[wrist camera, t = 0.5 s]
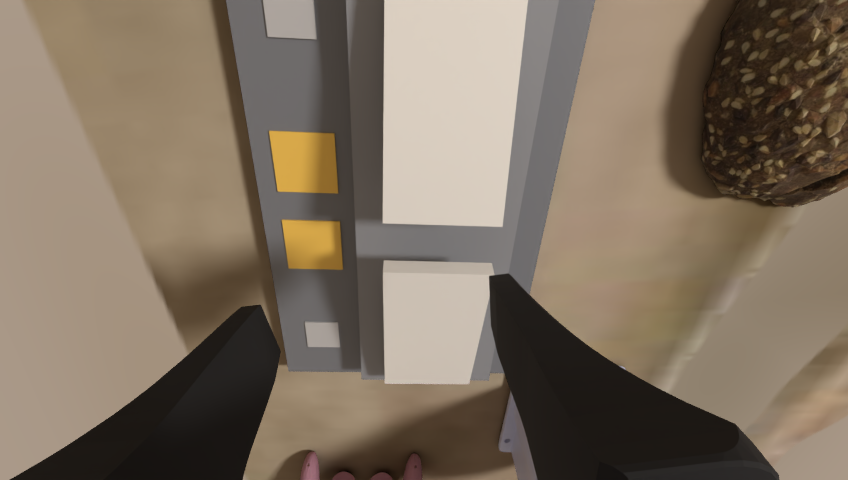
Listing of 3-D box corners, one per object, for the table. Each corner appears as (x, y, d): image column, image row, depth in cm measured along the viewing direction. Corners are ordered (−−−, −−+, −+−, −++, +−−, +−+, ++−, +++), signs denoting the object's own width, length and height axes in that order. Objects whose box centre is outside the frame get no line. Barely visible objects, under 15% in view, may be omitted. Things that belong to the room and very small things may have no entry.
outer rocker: (495, 218, 17) (502, 226, 16) (384, 215, 17) (382, 223, 16) (520, -13, 14) (530, -25, 13) (386, -21, 14) (384, -33, 13)
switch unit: (508, 362, 27) (517, 391, 25) (292, 360, 26) (282, 389, 24) (599, -66, 16) (630, -81, 13) (220, -92, 15) (188, -113, 13)
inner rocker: (466, 365, 24) (469, 384, 23) (385, 364, 24) (384, 383, 23) (490, 255, 18) (494, 274, 17) (384, 253, 18) (382, 272, 17)
